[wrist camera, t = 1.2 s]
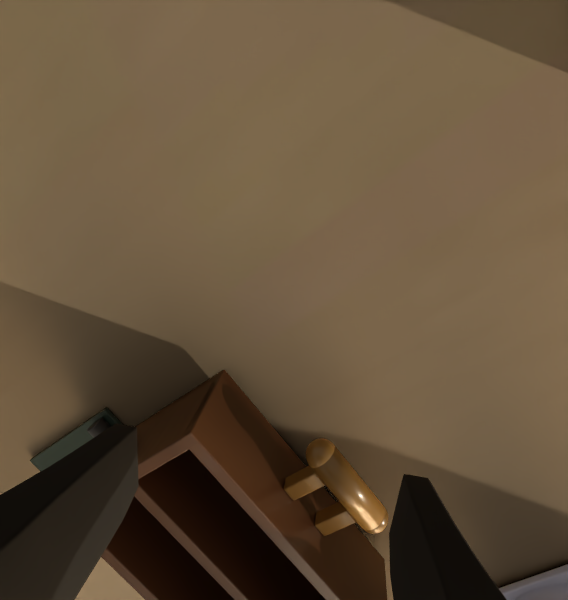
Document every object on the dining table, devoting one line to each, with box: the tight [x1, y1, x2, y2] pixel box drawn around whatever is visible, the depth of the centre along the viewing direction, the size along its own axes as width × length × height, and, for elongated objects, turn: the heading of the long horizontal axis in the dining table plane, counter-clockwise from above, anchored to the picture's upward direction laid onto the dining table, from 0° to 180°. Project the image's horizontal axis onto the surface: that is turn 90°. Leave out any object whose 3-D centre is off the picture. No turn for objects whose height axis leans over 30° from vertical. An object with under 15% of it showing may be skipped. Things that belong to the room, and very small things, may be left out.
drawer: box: [101, 370, 388, 600], centre depth 22 cm, size 5×14×11 cm
